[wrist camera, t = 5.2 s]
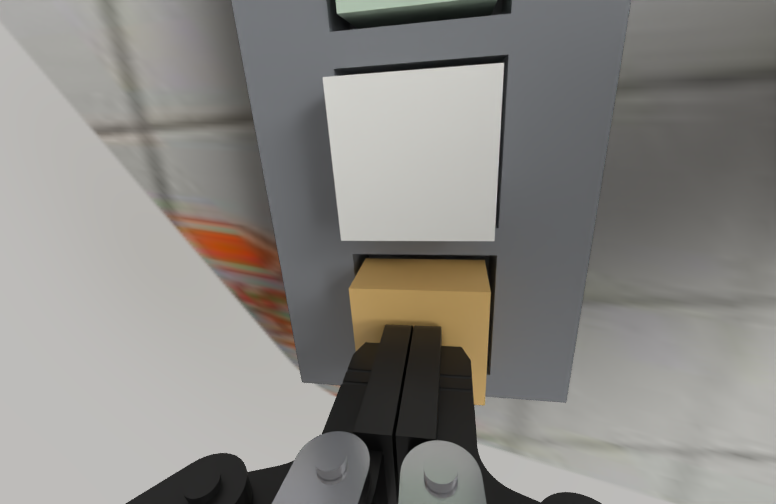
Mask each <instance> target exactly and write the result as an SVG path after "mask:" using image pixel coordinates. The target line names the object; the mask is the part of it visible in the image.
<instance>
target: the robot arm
mask: <svg viewBox="0 0 776 504" xmlns="http://www.w3.org/2000/svg"><path fill="white" fill-rule="evenodd" d="M126 504H601V503H600V502H598V501H596V500H594V499H592V498H590V497H587V496H584V495H581V494H576V493H570V492H562V493H556V494H553V495H550V496H549V497H547V498H545V499H544V500H543V501H542V502H541V503H540V502H538V501H536V500H533V499H531V498H529V497H526V496H524V495H522V494H519V493H517V492H515V491H513V490H511V489H509V488H507V487H505V486H504V485H502V484H501V483H500V482H498V481H497V480H496V479H495V478H494V477H493V476H492V475H491V474H490V473H489V472H488V471H487V469H486V468H485V466H484V465H483V463H482V461H481V459H480V456H479V454H478V449H477V438H476V424H475V410H474V397H473V383H472V369H471V360H470V358H469V357H468V355H467V354H466V353H465V351H464V350H463V348H462V347H455V346H442V327H441V326H416V325H415V326H414V329H413V326H412V325H388V324H386V325H385V327H384V330H383V334H382V337H381V340H380V343H370V342H365V343H364V344H363V345H362V346H361V347H360V348H359V349H358V350H357V351H356V352H355V353H354V354H353V356H352V358H351V361H350V364H349V366H348V370H347V372H346V374H345V376H344V379H343V384H341V387H340V389H339V392H338V394H337V397H336V399H335V402H334V404H333V407H332V410H331V412H330V415H329V417H328V420H327V422H326V425H325V428H324V430H323V432H322V435H319V436H317V437H316V438H314V439H312V440H311V441H309V442H308V443H307V444H306V445H305V446H304V447H303V448H302V449H301V450H300V452H299V453H298V455H297V456H296V458H295V460H294V461H292V462H290V463H287V464H283V465H280V466H275V467H271V468H266V469H261V470H256V471H251V472H247V470H246V466H245V464H244V462H243V461H242V460H241V459H240V458H238V457H237V456H235V455H232V454H227V453H219V454H213V455H209V456H206V457H203V458H201V459H199V460H197V461H195V462H194V463H191V464H190V465H188V466H187V467H185V468H183V469H182V470H180V471H179V472H177V473H175V474H173V475H172V476H170V477H168V478H167V479H165V480H164V481H162V482H160V483H159V484H157V485H155V486H154V487H152V488H150V489H149V490H147V491H146V492H144V493H142V494H141V495H139V496H137V497H136V498H134V499H132V500H131V501H129V502H128V503H126Z"/></svg>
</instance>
